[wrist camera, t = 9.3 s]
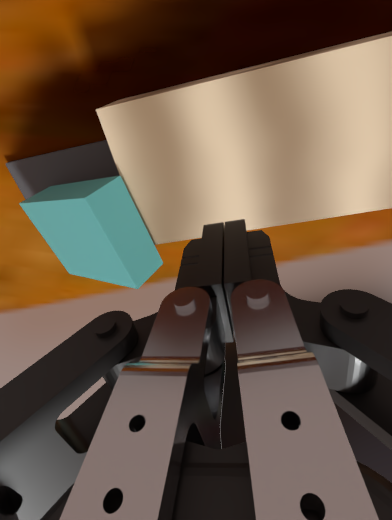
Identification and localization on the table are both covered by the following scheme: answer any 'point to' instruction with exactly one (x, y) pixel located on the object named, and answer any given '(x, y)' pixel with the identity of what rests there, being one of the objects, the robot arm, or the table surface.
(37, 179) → the mat
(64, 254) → the turquoise rectangular block
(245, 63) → the table surface
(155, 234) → the board
